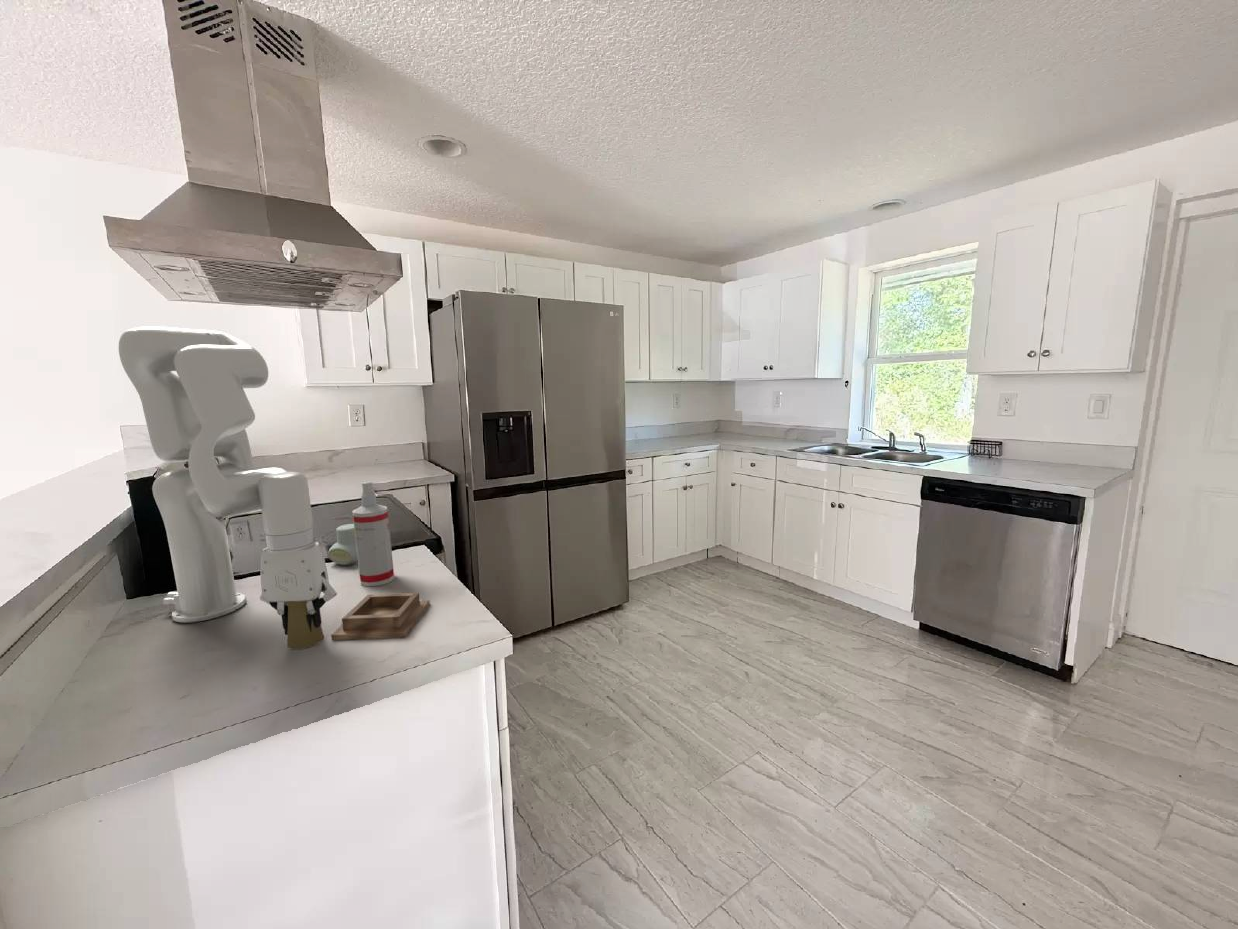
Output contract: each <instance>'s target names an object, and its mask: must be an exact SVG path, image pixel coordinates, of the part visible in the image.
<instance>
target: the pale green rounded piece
mask: <svg viewBox="0 0 1238 929" xmlns="http://www.w3.org/2000/svg"><path fill="white" fill-rule="evenodd" d="M335 530H336V541H337V542H335V543H334V544H333V545H332V546H331V547H330V548H329V550H328V552H327V556H328V559H329V560H331V562H333V563H335V564H338V565H342V566H351V565H355V564H358V557H357V548H356V539H355V530H354V523H348V524H347V523H346V524H342V525H340V526H338V527H337V528H336V529H335Z"/></svg>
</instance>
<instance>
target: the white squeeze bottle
mask: <svg viewBox="0 0 1238 929" xmlns="http://www.w3.org/2000/svg"><path fill="white" fill-rule="evenodd" d="M361 487H362V492H361V505H360V506H359V507H358V508H356V509H353V510H352V518H353V519H352V521H353V524H354V530H355V539H356V548H357V557H358V563H357V565H358V573H359V581H360V585H361V586H364V587H376V586H383V585H384V584H389V583H390V582H391V581H393V580H394V579H395V572H394V560H393V550H392V542H391V532H390V521H389V513H388V507H387V505H381V504H378V501H377V495H376V493H375V490H374V486H373V482H372V481H363V482H361Z"/></svg>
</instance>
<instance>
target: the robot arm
mask: <svg viewBox="0 0 1238 929" xmlns="http://www.w3.org/2000/svg"><path fill="white" fill-rule="evenodd" d="M118 354H119V359H120V363H121V365H122V368H123V370H124V372H125V373H126V375H127V377H128V378H129V381H130V382H131V383H132V385H133V386H134V388H135V390H136V392H137V393H138V395H139V399H140V401H141V406H142V410H143V414H144V419H145V423H146V427H147V431H148V435H149V440H150V443H151V446H152V449H153V452H154V453H155V456H157V458H158V459H160V460H161V461H163V462H168V463H182V462H188V467H185V468H184V467H183V468H177V469H173V470H170V471H166V472H165V473H162V474H161V475H159V476H158V477H156V479H155V480H154V481H153V484H152V486H151V490H152V495H153V496H152V497H153V498H154V500H155V503H156V505H157V508H158V510H159V513H160V516H161V518H162V521H163V524H164V528H165V531H166V537H167V542H168V547H169V552H170V557H171V564H172V569H173V573H174V574H173V575H174V580H175V585H176V590H177V591H169V592H168V593H167V594H166V597H165V598H163V600H162V603H163V605H174V610H173V611H172V612H171V618H172V620H173V621H174V622H176V623H185V624H187V623H197V622H198V623H199V622H203V621H204V622H205V621H208V620H213V619H215V618H220V617H222V616H226V615H229V614H230V613H232V612H235V611H237V610H239V609H240V608H242V607H243V606H244V605H245V604H246V603H247V598H246V595H245V594H244V593H240V592H237V588H236V584H235V577H234V572H233V570H234V569H233V565H232V559H231V553H230V552H231V551H230V547H229V541H228V534H227V530H226V527H225V525H224V524H223V523H222V521H220V520H219V519H217V518H216V517H220V518H221V517H222V518H223V517H225V518H226V517H233V516H237V515H242V514H246V513H251V512H255V511H259V510H260V511H261V516H262V525H263V530H264V533H261V534H259V541H261V542H263V541H264V542H265V547H264V548H263V549H262V551H261V558H260V586H261V594H260V597H259V600H260V601H262V602H264V603H266V604H268V605H270V606H271V608H273V609H274V610H275V611H276V612H277V615H279V616H281V622H282V628H283V632H284V635H285V636H287V635H288V606H287V605H285V603H284V602H289V601H297V602H298V601H308V602H307V604H306V606H307V610H308V612H309V614H307V615H306V618H307V622H308V625H309V628H310V631H311V624H312V620H313V623H314V626H315V627H320V626H321V627H322V616H321V608H323V606H324V605H325V604H326V603H327V602H329V601H330V600H332V599H334V598H335V597H336V596H337V594H338V593H337V592H336V590H335V588H334V587H333V585H331V583H330V582H329V579H330V578H329V572H328V569H327V564H326V560H325V556H324V553H323V551H322V548H321V546H320V543H319V541H318V542H317V541H316V536H315V529H314V523H313V522H314V520H313V513H312V506H311V505H312V504H311V498H310V489H309V482H308V478H307V476H306V475H305V474H304V473H302V472H299V471H288V470H287V469H284V468H282V467H275V466H271V467H265V468H260V469H259V468H257V469H255V464H254V459H253V455H252V449H251V446H250V441H249V436H248V433H247V430H246V429H247V428H248V427H249V426H251V425H252V424H253V423H254V422H255V419H256V413H255V410H254V409H253V407H252V405H251V403H250V401H249V399H248V396H247V394H246V391H245V390H244V389H258V388H261V387H263V386H265V385H266V383H267V381H268V379H269V367H268V364H267V362H266V360H265V358H264V356H262V354H261V353H260V352H259V351H258V350H257V349H256V348H254V347H253V346H251V345H250V344H248V343H247V342H244V341H243V340H241V339H238V338H237V337H235V336H232V335H231V334H229V333H225V332H223V331H218V330H207V329H191V328H180V327H168V326H140V327H134V328H130V329H128V330H126V331H124V332H123V333H122V334H121V336H120V338H119V341H118ZM173 372H176V373H177V375H176V374H175V373H173ZM215 458H218V460H219V462H220V463H216V460H215ZM213 515H214V516H213ZM215 516H216V517H215ZM321 593H323V595H322V596H321ZM313 600H314V601H313ZM236 609H237V610H236Z"/></svg>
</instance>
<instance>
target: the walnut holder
mask: <svg viewBox="0 0 1238 929" xmlns="http://www.w3.org/2000/svg"><path fill="white" fill-rule="evenodd" d="M428 606H431V602H430V600H420V593H419V592H417V593H416V592H410V593H409V592H407V593H404V592H403V593H383V594H382V593H380V594H377V593H376V594H366V596H364V598H362V599H361V600H360V601H359V602H358V603H357V604H356V605H355V606H353V608H352V609H351V610H350V611H349V612H347V613H346V614H345V616H343V617H342V618H341V622H342V623H341V625H340V626H339V627H338V628H336V630H335V631H334V632H333V633H332V634H331V635H330V637H331V640H332V641H333V640H334V641H335V640H337V641H339V640H360V639H361V640H363V639H364V640H367V639H388V638H392V639H395V638H406V637H407V636H408V635H409V633H410V632H411V630H412V629H413V627H415V625H416V624H417V622H418V621H419V620H420V619H421V617H422V616H423V615H424V613H425V612H426V611H427V609H428V608H429V607H428Z"/></svg>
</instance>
